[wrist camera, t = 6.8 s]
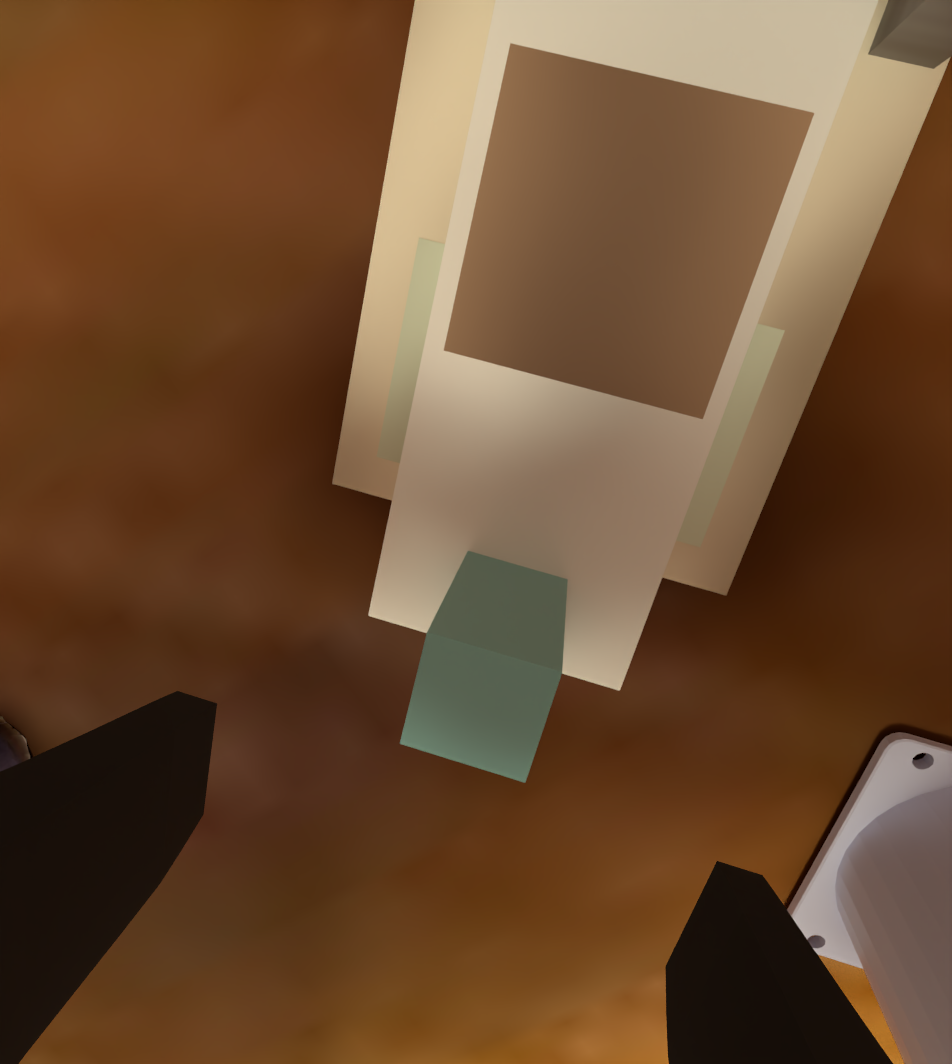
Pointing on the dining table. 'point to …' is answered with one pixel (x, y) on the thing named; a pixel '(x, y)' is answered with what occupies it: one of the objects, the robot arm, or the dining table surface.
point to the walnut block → (619, 227)
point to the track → (788, 314)
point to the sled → (572, 408)
